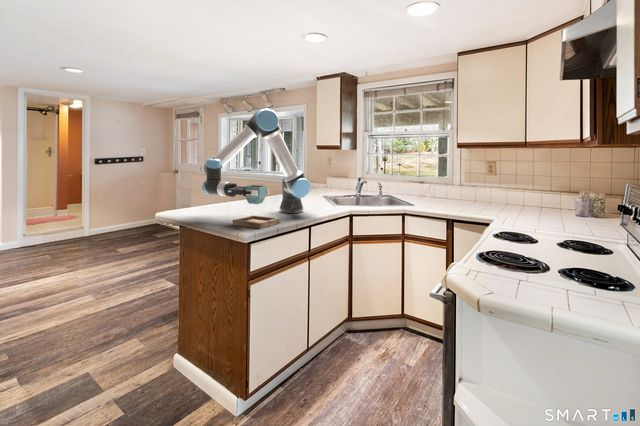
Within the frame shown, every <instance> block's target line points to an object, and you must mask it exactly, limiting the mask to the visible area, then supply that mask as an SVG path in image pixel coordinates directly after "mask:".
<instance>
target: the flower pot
mask: <svg viewBox="0 0 640 426" xmlns="http://www.w3.org/2000/svg"><path fill="white" fill-rule="evenodd" d="M243 187H244V190H245V191H246V190H258V196H251V195H246V196H244V198H245V199H246V201H247V203H248V204H252V205H260V204H263V203H264V200H265V199H266V197H267V196H266V195H267V194H266V190H267V189H268V188H267V187H268V186H267V185H258V184H257V185H256V184H249V185H244V186H243Z"/></svg>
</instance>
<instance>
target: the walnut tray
mask: <svg viewBox="0 0 640 426" xmlns="http://www.w3.org/2000/svg"><path fill="white" fill-rule="evenodd" d="M231 221H232V222H231V223H232V226H236V227H237V226H238V227H244V228H252V229H259V230H260V229H264V228H266V227H271V226H274V225H277V224H280V218H279V217H271V216H262V215H255V214H254V215H248V216H244V217H241V218H240V217H239V218H236V219H232V220H231Z"/></svg>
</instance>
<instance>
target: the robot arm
mask: <svg viewBox="0 0 640 426" xmlns="http://www.w3.org/2000/svg"><path fill="white" fill-rule="evenodd" d="M279 122H280V119H279V116H278V114H277V113H276V112H275V111H274V110H272V109H270V108H262V109H260V110H258V111H256V112H255V113H254V114H253V115H252V116H251V117H250V118H249V120H248V121H247V122H246V123H245V124H244V128H242V129H241V130H240V131H239V132H238V133H237V134H236V135H235V136H234V137H233V138H232V139H231V140H229V142H228V143H226V144H225V145H224V146H223V147H222V148H221V149H220V151H218V152H217V153H216V154H215V155H214V156H212V158H207V159H206V161H205V164H204V166H203V171H204V172H205V174H206V180H205V181H204V182H203V183H202V185H201V189H202V192H203V193H204V194H206V195H210V196H218V197H223V198H225V197H230V198H234V197H236V196H242V197H245V196H246V195H251V196H258V190H246V191H245V190H244V186H239V185H238V184H237V183H235V182H229V181H222V169H223V168H224V166H226V165H227V164H228V163H229V162H230V161H231V160H232V159H234V157H235V156H236V155H237V154H238V153H239V152H240V151H242V149H244V147H245V146H247V144H249V143H250V142H251V141H252V140H253V139H254V138H258V137H259V136H261V137H262V139H264V140H266V141H267V143H268V145H269V147H270V149H271V151H272V154H273V155H274V157H275V159H276V161H277V163H278V165H279V167H280V169H281V171H282V172H283V174H284V175H283V176H282V180H281V182H282V195H281V197H282V198H281V203H280V205H279V212H280V213H283V214H284V213H286V214H299V213H304V205H303V202H302V199H304V198H306V197H308V195H309V194H310V192H311V191H312V184H311V182H310V181H309V179H307V178H306V177H305V175H304V172H303V171H302V170H299V168H298V167H297V164H296V162H295V161H294V158H293V156H292V154H291V152H290V150H289V148H288V146H287V144H286V142H285V140H284V138H283V136H282V134H281V131H282V127H281V126H280V123H279ZM266 195H270V188H267V190H266Z"/></svg>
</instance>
